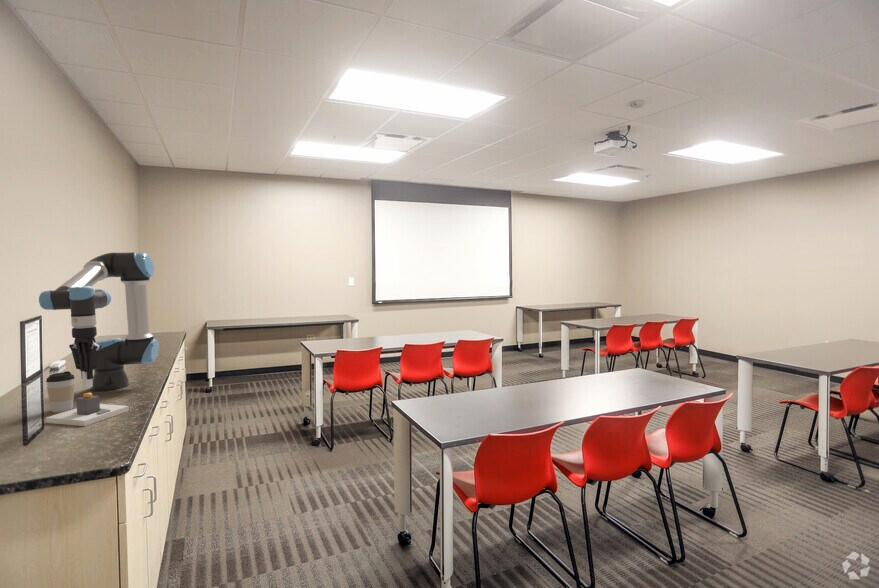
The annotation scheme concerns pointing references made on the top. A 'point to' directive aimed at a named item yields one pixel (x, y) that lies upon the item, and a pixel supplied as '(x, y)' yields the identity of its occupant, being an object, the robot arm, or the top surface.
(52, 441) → the top surface
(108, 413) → the socket plate
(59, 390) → the coffee cup
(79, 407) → the plug
